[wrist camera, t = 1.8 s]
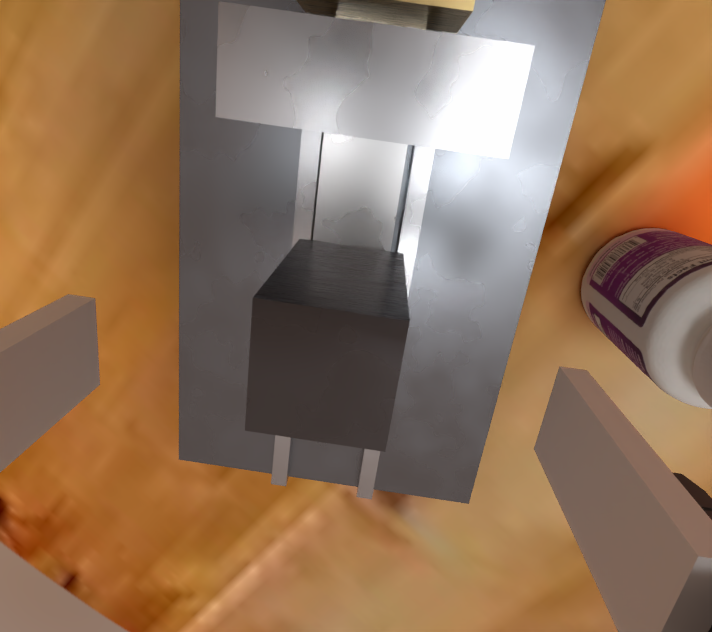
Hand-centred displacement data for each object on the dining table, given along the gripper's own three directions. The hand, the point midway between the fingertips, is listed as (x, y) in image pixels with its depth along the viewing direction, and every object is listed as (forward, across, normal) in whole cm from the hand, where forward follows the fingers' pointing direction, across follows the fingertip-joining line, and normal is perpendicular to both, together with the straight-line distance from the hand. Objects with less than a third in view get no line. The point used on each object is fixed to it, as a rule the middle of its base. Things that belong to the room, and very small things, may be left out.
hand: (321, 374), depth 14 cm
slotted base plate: (+11, 0, +2) cm, 11 cm away
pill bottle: (+11, +14, +2) cm, 17 cm away
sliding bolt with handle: (+9, 0, +6) cm, 11 cm away
